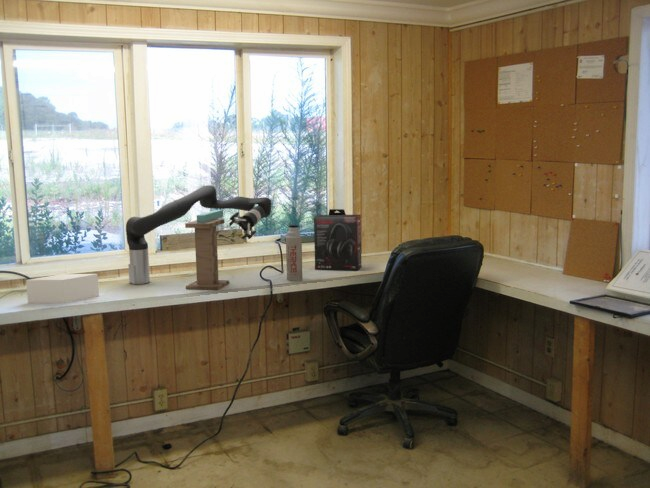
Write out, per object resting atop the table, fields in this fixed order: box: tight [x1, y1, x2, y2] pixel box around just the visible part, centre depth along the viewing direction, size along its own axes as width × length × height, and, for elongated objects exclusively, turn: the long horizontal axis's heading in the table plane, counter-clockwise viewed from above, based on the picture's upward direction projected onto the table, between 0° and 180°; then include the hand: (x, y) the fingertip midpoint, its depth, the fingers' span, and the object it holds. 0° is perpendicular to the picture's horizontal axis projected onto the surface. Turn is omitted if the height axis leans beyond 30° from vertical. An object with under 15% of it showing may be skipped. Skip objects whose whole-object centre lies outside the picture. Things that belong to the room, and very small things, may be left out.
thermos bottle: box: [285, 224, 303, 282], centre depth 331 cm, size 8×8×28 cm
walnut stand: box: [184, 218, 230, 291], centre depth 319 cm, size 20×16×32 cm
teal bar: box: [196, 209, 224, 223], centre depth 323 cm, size 26×4×4 cm, turn 168°
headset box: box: [313, 208, 362, 271], centre depth 361 cm, size 24×13×33 cm, turn 77°
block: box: [25, 273, 100, 304], centre depth 296 cm, size 15×30×11 cm, turn 114°
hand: (236, 231), depth 319 cm, fingers open, 8 cm apart
